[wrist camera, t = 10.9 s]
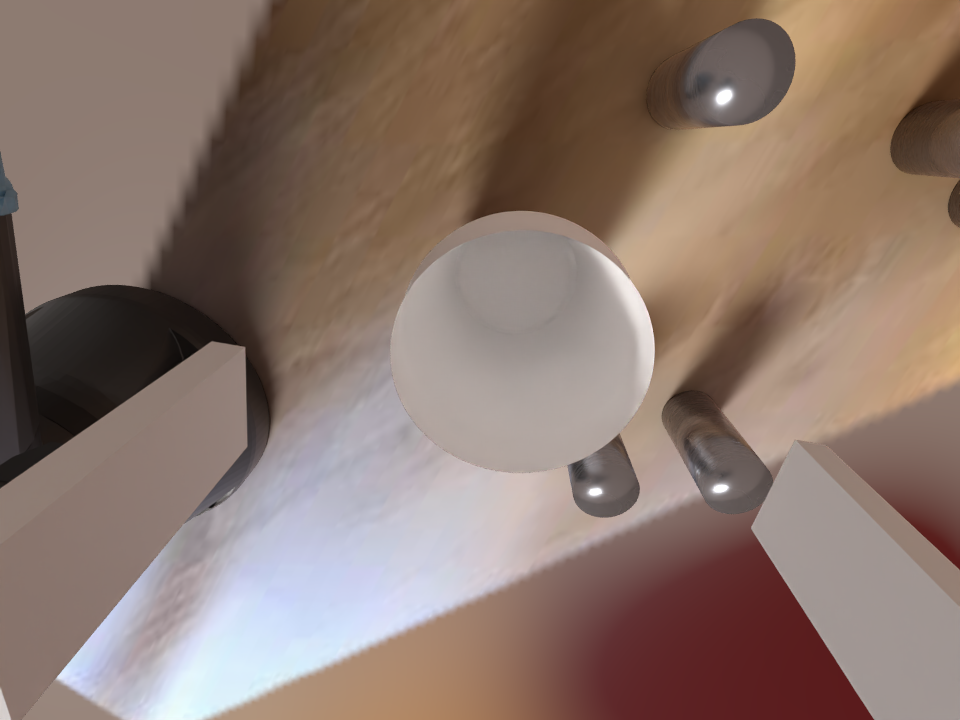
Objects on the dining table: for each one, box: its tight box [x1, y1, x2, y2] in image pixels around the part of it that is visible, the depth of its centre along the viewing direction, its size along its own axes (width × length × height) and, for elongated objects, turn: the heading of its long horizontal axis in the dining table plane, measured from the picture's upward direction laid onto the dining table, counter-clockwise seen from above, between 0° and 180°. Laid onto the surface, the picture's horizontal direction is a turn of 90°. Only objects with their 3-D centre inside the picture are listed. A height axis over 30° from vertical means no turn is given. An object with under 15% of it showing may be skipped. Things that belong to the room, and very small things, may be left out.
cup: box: [390, 211, 655, 473], centre depth 22 cm, size 9×9×12 cm
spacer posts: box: [567, 19, 960, 517], centre depth 24 cm, size 19×21×7 cm
